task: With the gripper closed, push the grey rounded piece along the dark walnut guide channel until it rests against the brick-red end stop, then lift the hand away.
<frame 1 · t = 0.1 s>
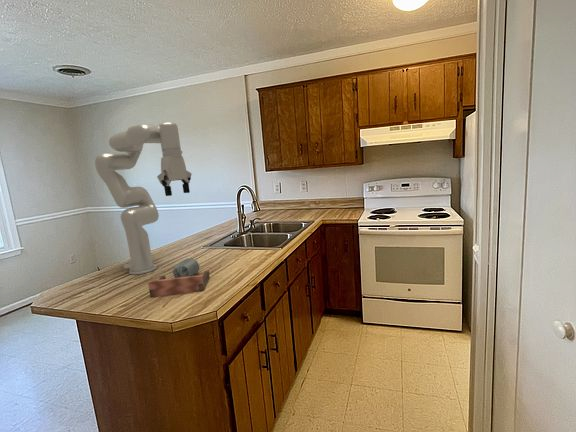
hand: (178, 194, 134), 37 cm above the table, fingers open, 9 cm apart
grey rounded piece: (187, 278, 139), on the table
guide channel: (181, 286, 129), on the table
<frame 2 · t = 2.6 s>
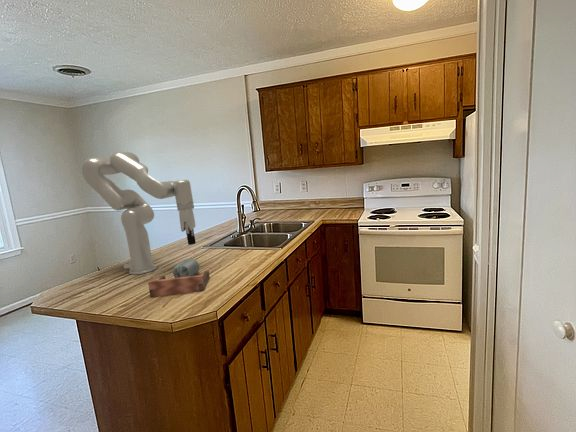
hand: (192, 243, 151), 12 cm above the table, fingers closed
nothing on the table moved.
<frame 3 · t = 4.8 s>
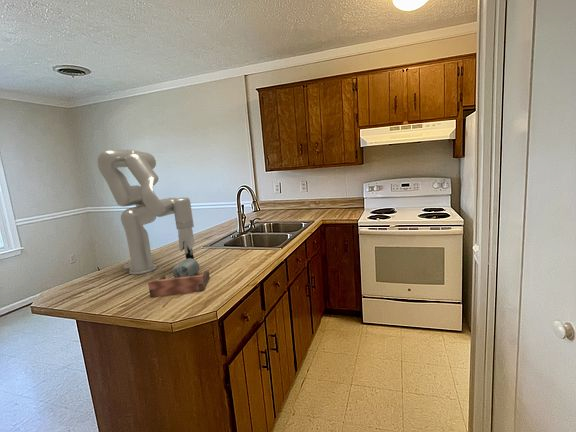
hand: (190, 263, 147), 4 cm above the table, fingers closed
grey rounded piece: (187, 278, 139), on the table, touching gripper
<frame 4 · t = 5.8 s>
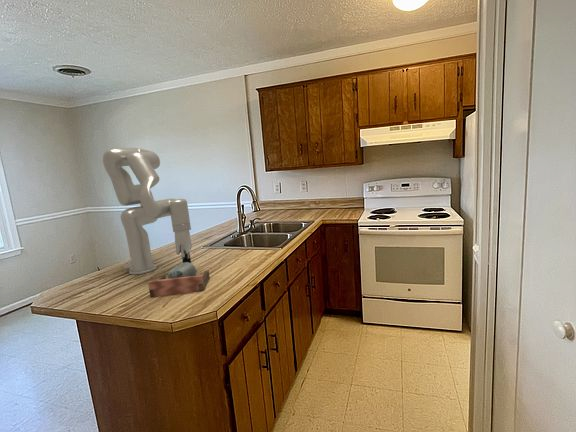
hand: (187, 267, 141), 4 cm above the table, fingers closed
grey rounded piece: (183, 283, 133), on the table, touching gripper
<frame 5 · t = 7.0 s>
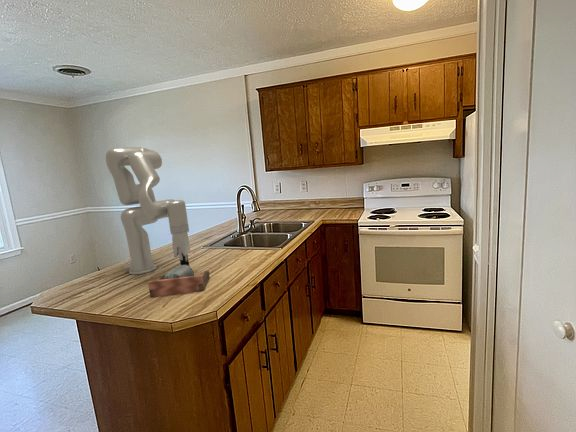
hand: (185, 270, 137), 4 cm above the table, fingers closed
grey rounded piece: (181, 286, 130), on the table, touching gripper, guide channel
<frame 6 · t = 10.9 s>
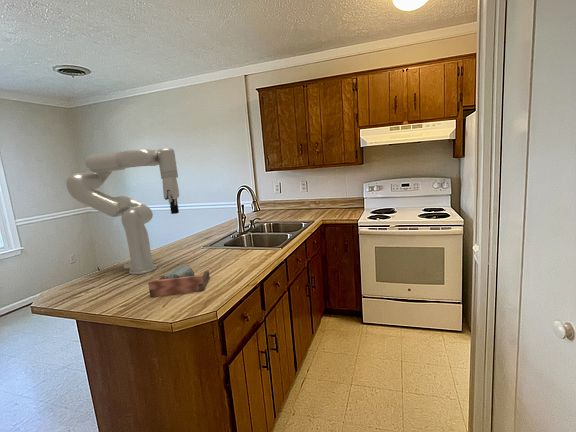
hand: (175, 213, 151), 27 cm above the table, fingers closed
grey rounded piece: (181, 286, 130), on the table
at the end: grey rounded piece inside the target area (0.5 cm from its centre), on the table; grey rounded piece moved 9.7 cm from its start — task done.
